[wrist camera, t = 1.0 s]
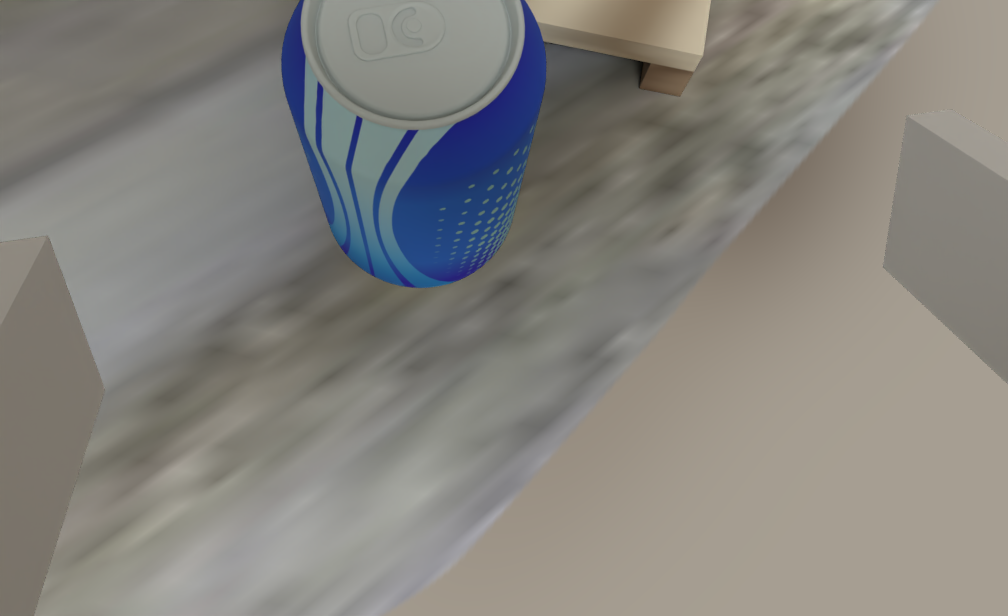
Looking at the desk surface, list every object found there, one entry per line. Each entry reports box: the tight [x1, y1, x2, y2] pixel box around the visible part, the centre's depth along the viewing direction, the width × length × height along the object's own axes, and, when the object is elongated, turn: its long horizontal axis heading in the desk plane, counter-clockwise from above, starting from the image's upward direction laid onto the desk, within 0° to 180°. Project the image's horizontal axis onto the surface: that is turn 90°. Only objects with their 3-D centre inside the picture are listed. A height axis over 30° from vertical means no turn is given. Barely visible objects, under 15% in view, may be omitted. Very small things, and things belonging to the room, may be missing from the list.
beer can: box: [281, 0, 546, 288], centre depth 36 cm, size 8×8×16 cm
